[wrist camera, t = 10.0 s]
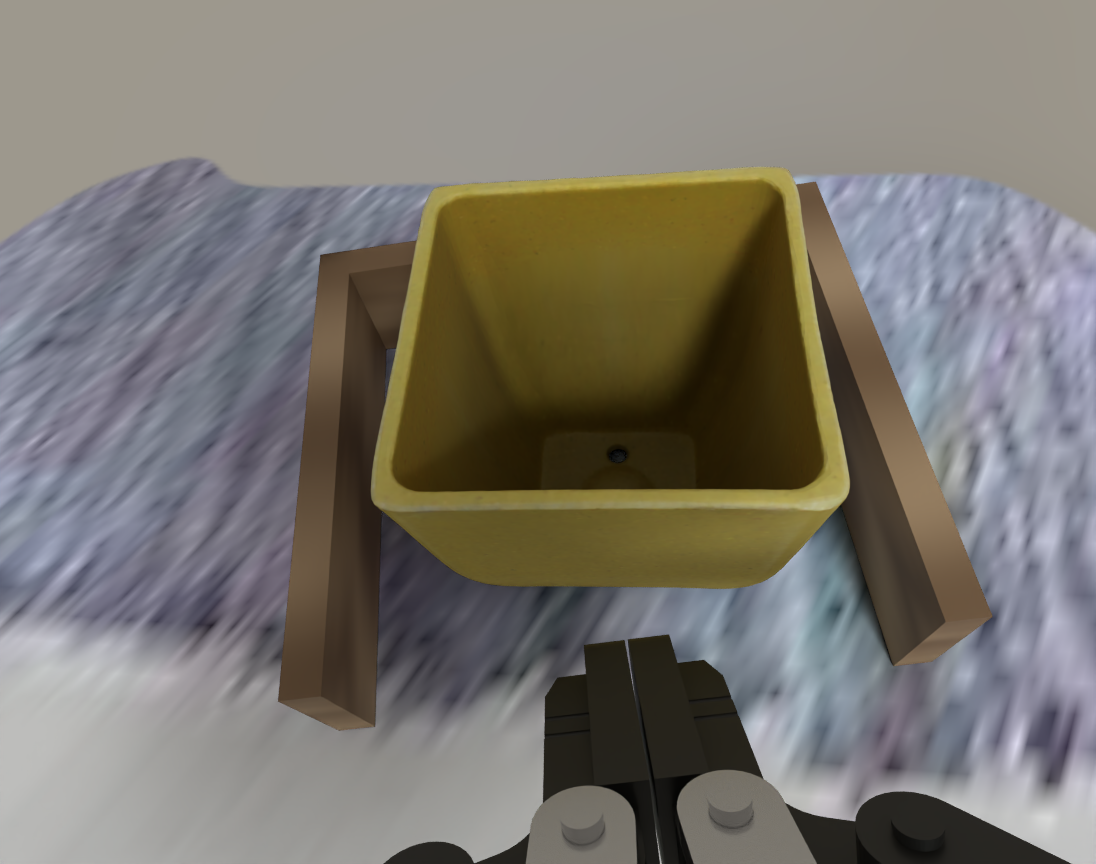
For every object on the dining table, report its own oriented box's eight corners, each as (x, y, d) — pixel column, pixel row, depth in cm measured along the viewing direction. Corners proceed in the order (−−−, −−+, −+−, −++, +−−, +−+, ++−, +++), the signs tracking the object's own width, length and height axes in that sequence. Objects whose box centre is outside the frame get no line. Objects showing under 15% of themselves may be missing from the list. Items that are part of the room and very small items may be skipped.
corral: (931, 661, 20) (992, 616, 16) (339, 730, 20) (278, 701, 17) (793, 269, 27) (815, 181, 23) (360, 331, 28) (320, 255, 24)
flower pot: (489, 386, 26) (425, 178, 18) (748, 380, 25) (795, 158, 17) (462, 640, 21) (361, 508, 14) (776, 647, 20) (857, 508, 13)
